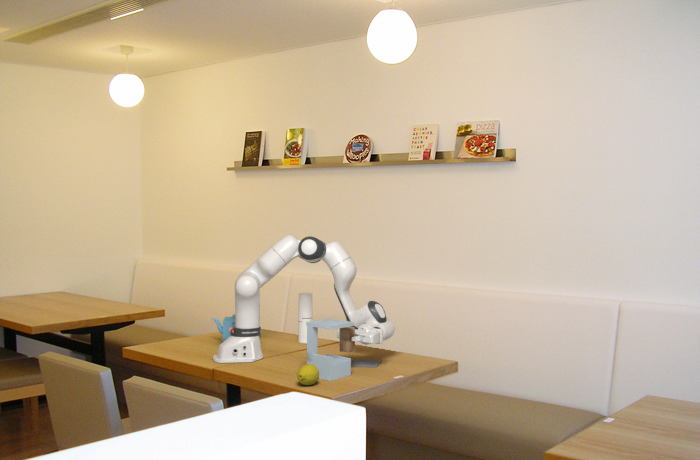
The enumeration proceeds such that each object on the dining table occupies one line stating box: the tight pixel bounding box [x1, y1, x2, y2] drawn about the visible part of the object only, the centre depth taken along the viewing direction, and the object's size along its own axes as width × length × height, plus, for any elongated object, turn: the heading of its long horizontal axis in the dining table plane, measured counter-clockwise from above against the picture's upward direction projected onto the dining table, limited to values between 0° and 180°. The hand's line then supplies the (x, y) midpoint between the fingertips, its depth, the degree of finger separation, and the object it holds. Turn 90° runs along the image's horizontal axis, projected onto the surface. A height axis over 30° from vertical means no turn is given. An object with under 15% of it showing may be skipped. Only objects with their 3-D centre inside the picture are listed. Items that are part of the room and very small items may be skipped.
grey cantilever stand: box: [306, 318, 354, 382], centre depth 253 cm, size 13×14×22 cm
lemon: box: [296, 363, 320, 386], centre depth 237 cm, size 11×8×8 cm
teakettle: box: [210, 314, 235, 342], centre depth 319 cm, size 19×19×15 cm
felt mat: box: [351, 358, 382, 368], centre depth 274 cm, size 12×12×1 cm
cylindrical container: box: [297, 292, 313, 344], centre depth 324 cm, size 7×7×25 cm
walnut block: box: [339, 327, 356, 354], centre depth 260 cm, size 4×4×10 cm
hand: (345, 338), depth 260 cm, fingers closed on walnut block, 4 cm apart
